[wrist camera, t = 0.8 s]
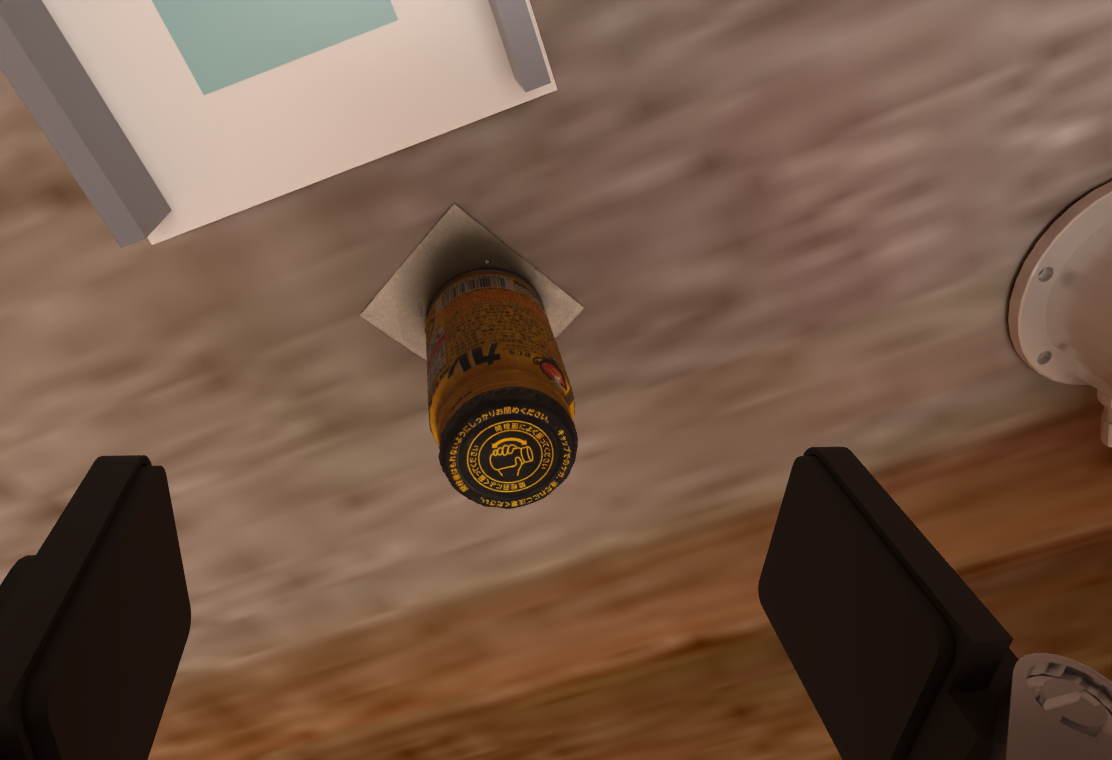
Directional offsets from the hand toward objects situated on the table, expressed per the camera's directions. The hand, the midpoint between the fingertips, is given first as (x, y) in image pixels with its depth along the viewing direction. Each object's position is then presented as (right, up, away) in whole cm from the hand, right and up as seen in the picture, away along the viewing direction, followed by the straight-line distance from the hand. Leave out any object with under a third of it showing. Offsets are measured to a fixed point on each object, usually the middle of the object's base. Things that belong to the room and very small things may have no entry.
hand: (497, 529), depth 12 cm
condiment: (-3, +6, +27) cm, 28 cm away
